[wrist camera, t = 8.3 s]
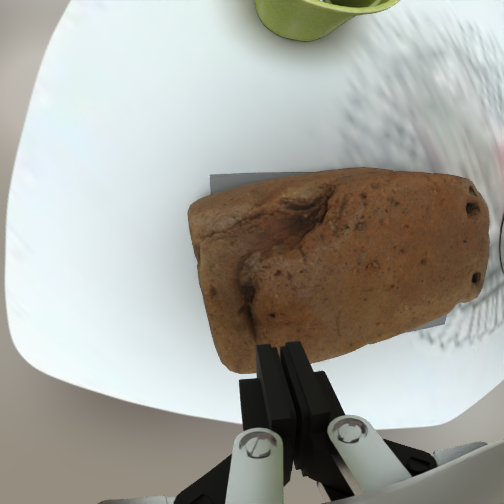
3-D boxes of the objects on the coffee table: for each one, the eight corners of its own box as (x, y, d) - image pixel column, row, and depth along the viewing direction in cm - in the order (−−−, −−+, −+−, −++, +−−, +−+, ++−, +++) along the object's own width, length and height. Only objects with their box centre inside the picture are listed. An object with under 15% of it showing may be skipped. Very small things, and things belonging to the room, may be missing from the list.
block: (220, 334, 24) (440, 277, 25) (223, 396, 16) (495, 307, 18) (187, 194, 21) (433, 155, 22) (170, 204, 14) (497, 156, 15)
